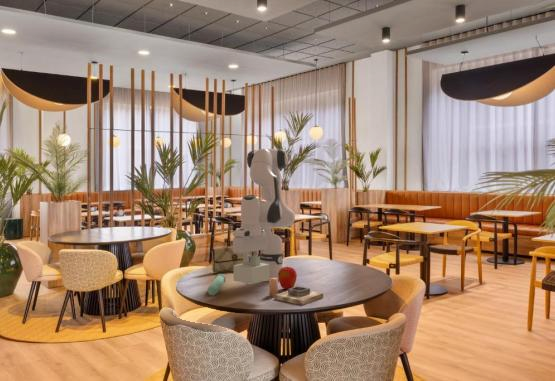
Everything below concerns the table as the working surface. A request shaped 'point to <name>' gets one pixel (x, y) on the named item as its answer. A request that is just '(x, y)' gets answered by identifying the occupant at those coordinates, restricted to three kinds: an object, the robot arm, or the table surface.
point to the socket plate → (299, 295)
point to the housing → (251, 271)
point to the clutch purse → (225, 259)
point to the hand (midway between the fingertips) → (251, 261)
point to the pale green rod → (216, 284)
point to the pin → (273, 286)
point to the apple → (287, 277)
